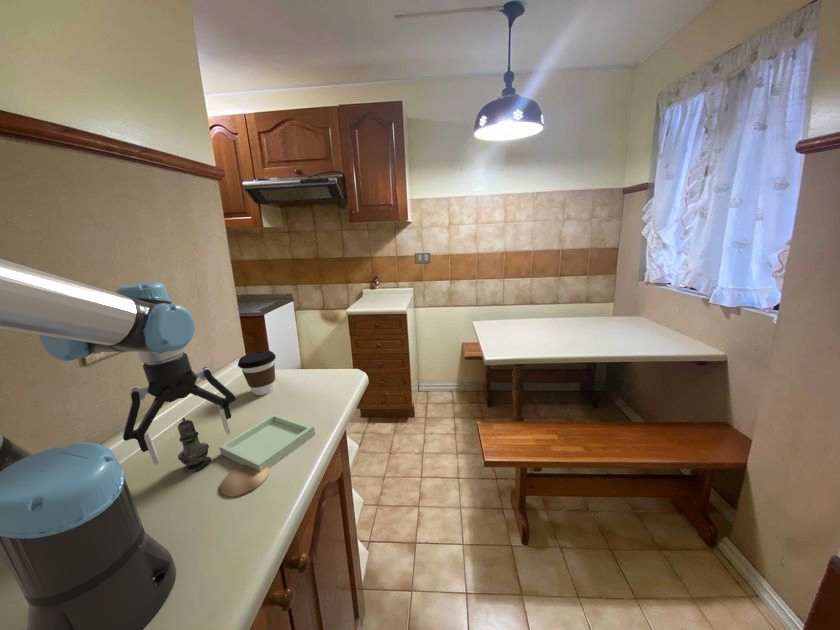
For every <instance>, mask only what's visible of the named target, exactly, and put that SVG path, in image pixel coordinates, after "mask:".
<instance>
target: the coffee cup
mask: <svg viewBox="0 0 840 630" xmlns="http://www.w3.org/2000/svg"><path fill="white" fill-rule="evenodd" d="M276 357H277V355H276V354H275V353H274V351H273V352H272V351H271V350H258V351H254V352H251V353H248V354H245V355H243V356H241V357H240V358H239V359H238V362H237V367H239V368H240V369H241V370H242V371H241V372H242V374H243V376H244V378H245V380H246V383H247V385H248V387H249V388H250V390H251V392H252V394H253V395H255V396H257V395H258V396H259V395H261V396H264V395H265V394H266V395H268V394H270V393H272V392H274V390H275V388H276V369H275V367H276V366H275V365H276V364H275V360H276Z"/></svg>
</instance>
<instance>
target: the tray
mask: <svg viewBox="0 0 840 630" xmlns="http://www.w3.org/2000/svg"><path fill="white" fill-rule="evenodd" d="M314 435H316V432H315V426H314V425H313V426H312V425H310V424H308V423H303V422H301V421H299V420H295V419H292V418H290V417H286V416H284V415H283V416H282V415H280V414H277V413H274V414H272V415H270V416H268V417H267V418H265V419H263V420H262V421H260V422H258V423H257V424H255V425H253V426H251V427H249V429H246V430H244V431H243V432H242V433H240V434H238V435H237V436H234V437H233V438H231V439H230V440H228V441H227V442H225V443H223V444H221V445H219V446H218V449H219V451H220V455H221V456H224V457H226V458H228V459H230V460H232V461H234V462H236V463H238V464H240V465H241V466H243V465H247V466H249V467H251V468H253V469H256V470H258V471H260V472H261V471H262V470H264V469H265V468H266V467H268V469H270V468H271V467H272V466H274V465H275V464H277V463H278V462H279V461H281V460H283V458H284V457H286V456H288V455H289V454H290V453H292V452H293V451H294V450H295V449H297V448H299V446H302V444H303V443H305V442H306V441H307V440H309V439H310V438H312V437H313V436H314Z"/></svg>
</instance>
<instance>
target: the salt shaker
mask: <svg viewBox="0 0 840 630" xmlns="http://www.w3.org/2000/svg"><path fill="white" fill-rule="evenodd" d="M177 431H178V433H179V437H180V438H179V439H178V441H179V442H180V443H181V444H182V446H183V449H182V450H181V451H180V452H179V454H178V456H177V459H178V461H180V462H181V463H182V464H183V465H184V468H183V472H184V473H186V474H194V473H197V472H200V471H202V470H204V469H205V468H206V467H208V466H209V465H210V464H211V462H212V458H211V457H210V456H208V453H209V447H210V446H209V444H208V443H206V442H200V439H199V432H198V431H196V428H195V424H194V422H193V421H192V420H190V419H189V420H188V419H186V418H185V417H182V419H181V422H180V423H178V425H177Z"/></svg>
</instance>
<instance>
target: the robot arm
mask: <svg viewBox="0 0 840 630" xmlns="http://www.w3.org/2000/svg"><path fill="white" fill-rule="evenodd" d="M195 328H196V324H195V320H194V317H193V315H192V314H191V312H190V311H189V310H188V309H186V308H185V307H183V306H182V305H179V304H172V300H171V298H170V295H169V293H168V291H167V288H166V286H165V285H164V283H162V282H160V281H145V282H138V283H132V284H127V285H124V286H120V287H118V288H117V289H116V292H114V291H110V290H106V289H103V288H99V287H96V286H93V285H90V284H87V283H86V284H85V283H83V282H79V281H76V280H73V279H69V278H66V277H62V276H61V275H60V276H59V275H57V274H52V273H49V272H45V271H42V270H40V269H36V268H33V267H28V266H26V265H23V264H19V263H16V262H12V261H9V260H6V259H2V258H0V329H1V330H7V331H8V330H9V331H14V332H20V333H27V334H33V335H38V338H39V340H40V342H41V345H42V347H43V348H44V349H45V351H46V352H47V353H48V354H49V355H50V356H51V357H53V358H54V359H57V360H58V361H63V362H71V361H76V360H79V359H81V358H88V357H89V356H91V355H93V354H96V353H118V352H119V353H126V352H127V353H128V352H129V353H131V352H137V355H138V358H139V360H140V362H141V363H143V365H142V368H143V369H142V370H143V372H144V374H145V377H146V380H147V384H148V387H143V388H137V387H136V388H132V389H131V391H130V399H131V405H130V409H129V412H128V416H127V419H126V423H125V427H124V430H123V435H122V437H123V438H122V440H123V441H130V440H136V441H137V443H138V446H139V448H140V451H141V452H142V453H145V452H149V454H150V457H151V460H152V463H153V465H154V466H156V465H158V464H159V462H160V460H159V455H158V453H157V450H156V447H155V445H154V441H153V439H152V436H151V434H150V431H149V428H150V427H151V424H152V422H153V421H154V420H155V418H156V416H157V414H158V413H159V411H160V410H161V409H162V408H163V405H164V404H165V402H166V403H172V402H173V403H174V402H175V401H177V400H178V399H184V398H187V397H188V396H190V394H191V395H192V396H195V397H199V398H202V399H204V400H206V401H209V402H211V403H212V404H215V405H217V408H218V411H219V416H220V419H221V422H222V425H223V429H224V431H225V434H226V435H231V430H230V427H229V424H228V420H230V419H232V413H231V410H230V404H232V403H233V402H235V401H236V400H237V397H236V395H234V393H233V392H232V391H231V390H229V388H227V387H226V386H225V385H224V384H223V383H222V382H221V381H219V380H218V379H217V378H216V377H215V376H214V375H213V374H212V373H211V370H210V368H209V367H207V366H204V367H203V368H202V369H201V370H199V371H196V372H194V371H193V369H192V367H191V363H190V359H189V357H188V354H187V353H185V352H186V346H188V345H189V343H190V342H191V341H192V340H193V338H194V334H195ZM198 379H201V380H202V381H207V382H208V383H209V384H210V385H211V386H212V387H214V388H215V389H216V390H217V391H218V392H219V393H221V394H222V395H223V396H224V397H225V398H224V397H221V396H219V395H217V394H214V393H213V392H211V391H209V390H206V389H205V388H203V387H200V386H199V385H197V384H196V382H197V381H198ZM148 394H149V395H150V396H152V397H155V398H154V399H153V401H152V404H151V405H150V407H149V408H148V410H147V412H146V413H145V415H144V417H143V419H142V421H141V422H140V424H139V426H138V427H137V428H136V429H135V425H136V421H137V417H138V414H139V411H140V407H141V401H143V400H144V399H145V398H146V396H147V395H148ZM125 474H126V473H125V471H124V468H123V466H122V464H121V463H120V461H118V459H117V457H116V455H115V454H114V452H113V451H112V449H110V448H108V447H107V446H105V445H102V444H99V443H94V442H76V443H75V442H74V443H69V444H68V445H65V446H64V447H61V446H55V447H51V448H48V449H45V450H41V451H39V452H36V453H32V452H31V451H28V450H26V449H25V448H23V447H22V446H20V445H18V444H17V443H15V442H14V441H11V440H10V439H9V438H7V437H6V436H3V435H2V434H0V563H1V564H3V565H5V566H6V567H7V568H8V570H9V571H10V572H11V574H12V576H13V577H14V579H15V581H16V583H17V585H18V587H19V589H20V591H21V592H22V594H23V596H24V598H25V600H26V602H27V604H28V608H27V609H28V612H27V625H26V630H142V629H143V628H144V627H145V626H146V625H147V624H148V623H149V622H150V621H151V620H152V618H153V619H154V617H155V615H156V614H157V613H158V611H159V610H160V609H161V608H162V606H164V603H165V602H166V600H167V599H168V598H169V595H170V594H171V592H172V589H173V587H174V584H175V581H176V576H177V569H176V564H175V561H174V559H173V557H172V554H171V553H170V551H169V550H168V549H167V548H166V547H164V546H163V545H162V544H161V543H160V542H158V541H157V540H155V538H153V537H152V536H151V535H149V534H148V533H147V532H146V531H145V529H144V526H143V524H142V523H143V522H142V521H141V517H140V515H139V513H138V509H137V507H136V504H135V502H134V499H133V496H132V494H131V491H130V490H131V489H130V488H129V485H128V482H127V480H126V475H125Z"/></svg>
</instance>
